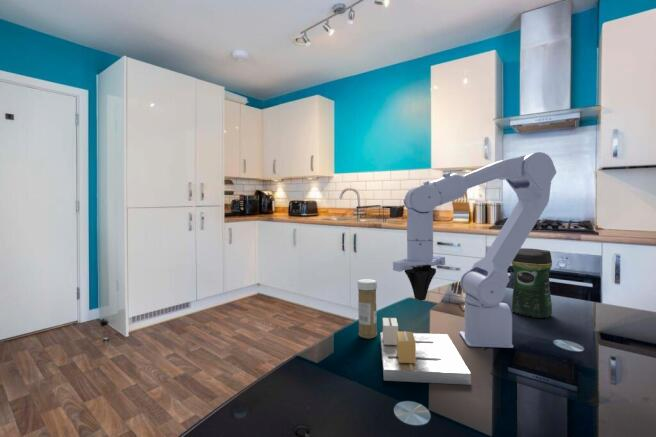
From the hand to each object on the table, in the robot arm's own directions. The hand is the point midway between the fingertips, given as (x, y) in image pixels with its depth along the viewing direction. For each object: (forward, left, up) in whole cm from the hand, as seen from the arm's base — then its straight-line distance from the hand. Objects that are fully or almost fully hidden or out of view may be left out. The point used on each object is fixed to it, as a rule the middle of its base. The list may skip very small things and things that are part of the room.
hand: (420, 299), depth 78 cm
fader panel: (+1, +9, -10) cm, 13 cm away
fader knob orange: (+5, +13, -8) cm, 16 cm away
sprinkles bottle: (+12, -3, -10) cm, 16 cm away
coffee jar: (-34, -23, -10) cm, 42 cm away
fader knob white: (+7, +5, -8) cm, 12 cm away
